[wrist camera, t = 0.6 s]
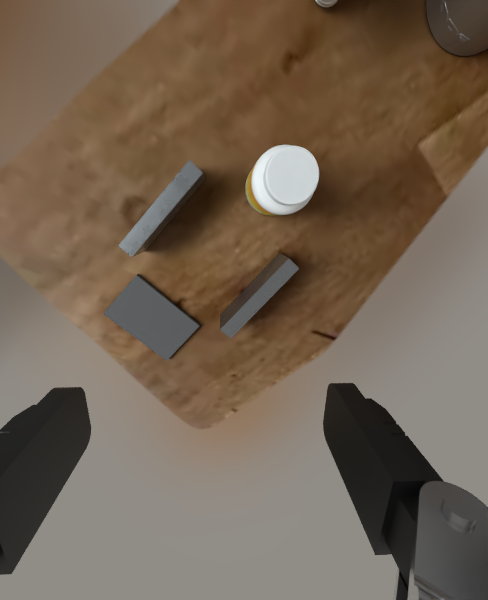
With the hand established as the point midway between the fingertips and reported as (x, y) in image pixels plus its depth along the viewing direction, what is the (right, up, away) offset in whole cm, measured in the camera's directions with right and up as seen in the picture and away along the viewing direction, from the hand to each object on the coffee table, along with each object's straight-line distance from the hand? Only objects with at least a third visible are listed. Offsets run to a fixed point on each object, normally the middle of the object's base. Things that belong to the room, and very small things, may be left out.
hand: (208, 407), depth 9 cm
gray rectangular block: (-9, +1, +23) cm, 25 cm away
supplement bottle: (+4, +15, +20) cm, 26 cm away
